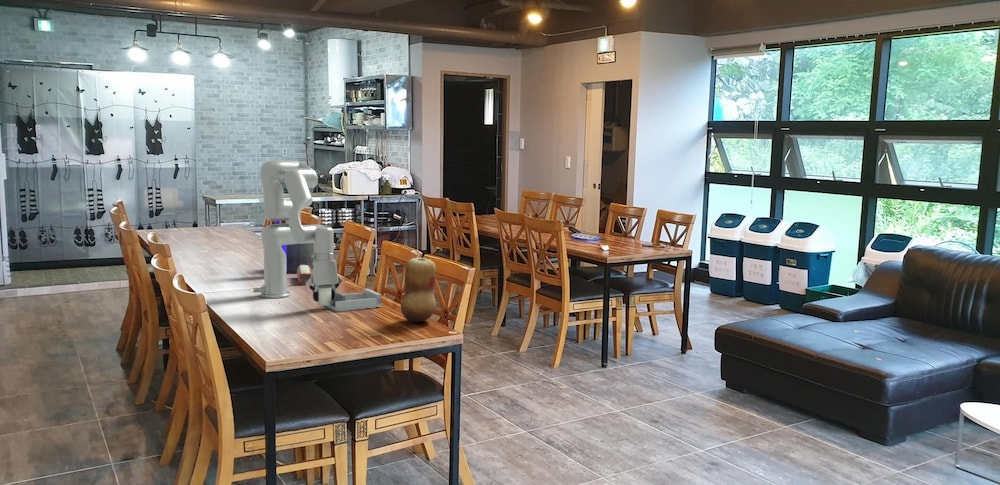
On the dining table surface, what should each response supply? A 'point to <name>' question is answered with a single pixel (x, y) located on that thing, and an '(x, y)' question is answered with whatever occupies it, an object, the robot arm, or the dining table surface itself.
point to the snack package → (303, 274)
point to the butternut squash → (419, 290)
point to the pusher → (338, 297)
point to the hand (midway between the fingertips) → (324, 299)
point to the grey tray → (357, 301)
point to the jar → (324, 295)
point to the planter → (299, 256)
